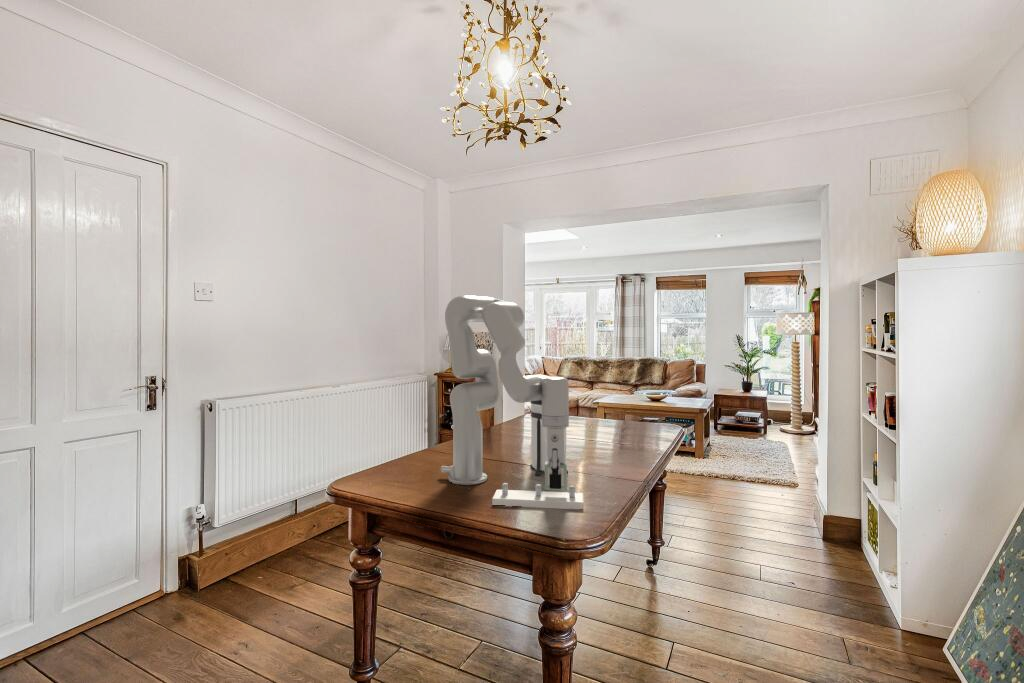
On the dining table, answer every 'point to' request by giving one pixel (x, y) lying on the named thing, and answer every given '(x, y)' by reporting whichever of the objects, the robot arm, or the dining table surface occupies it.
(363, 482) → the dining table surface
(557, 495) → the white peg board
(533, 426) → the coffee press
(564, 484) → the tall sage green block
